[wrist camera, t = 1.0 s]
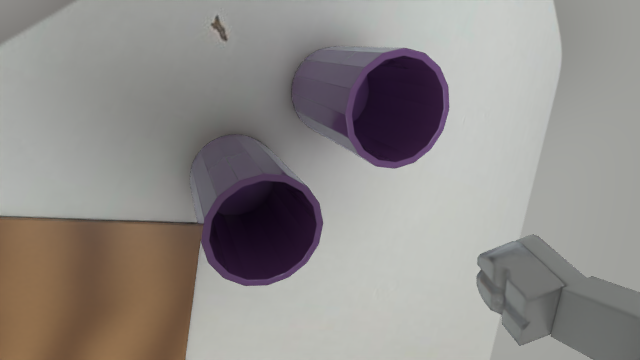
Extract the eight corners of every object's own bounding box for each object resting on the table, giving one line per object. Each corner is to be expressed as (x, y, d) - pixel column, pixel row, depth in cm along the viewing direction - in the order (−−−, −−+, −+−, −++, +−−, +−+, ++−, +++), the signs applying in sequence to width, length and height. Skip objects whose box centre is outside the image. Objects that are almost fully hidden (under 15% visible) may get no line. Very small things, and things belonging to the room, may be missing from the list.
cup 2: (284, 127, 30) (334, 162, 21) (299, 38, 29) (361, 36, 20) (359, 137, 33) (431, 172, 24) (377, 56, 31) (462, 62, 22)
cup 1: (185, 214, 30) (195, 287, 21) (195, 128, 28) (210, 168, 19) (269, 218, 32) (310, 284, 23) (283, 140, 31) (332, 179, 22)
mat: (-57, 421, 28) (-60, 426, 28) (-70, 214, 24) (-73, 216, 24) (180, 391, 34) (180, 395, 34) (201, 223, 30) (202, 225, 30)
